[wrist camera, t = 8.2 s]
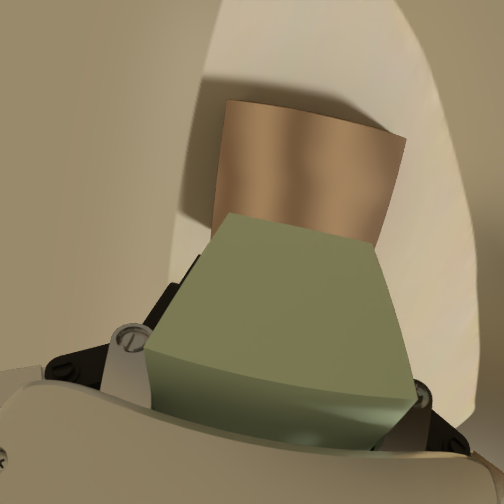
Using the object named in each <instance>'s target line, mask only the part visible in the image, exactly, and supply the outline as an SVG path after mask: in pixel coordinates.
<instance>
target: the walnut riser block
mask: <svg viewBox="0 0 504 504" xmlns="http://www.w3.org/2000/svg"><path fill="white" fill-rule="evenodd" d="M405 144H406V138H403V137H401V136H398V135H396V134H393V133H390V132H387V131H384V130H380V129H377V128H374V127H370V126H366V125H363V124H359V123H355V122H351V121H348V120H344V119H339V118H335V117H331V116H327V115H322V114H318V113H313V112H308V111H303V110H298V109H293V108H287V107H282V106H276V105H270V104H263V103H257V102H250V101H242V100H227V103H226V110H225V117H224V124H223V132H222V140H221V148H220V156H219V164H218V173H217V182H216V191H215V200H214V209H213V219H212V230H211V239H212V237H213V236H214V234H215V233H216V231H217V230H218V228H219V227H220V225H221V224H222V222H223V221H224V219H225V218H226V216H227V215H228V213H233V214H238V215H243V216H248V217H253V218H258V219H263V220H268V221H273V222H278V223H283V224H287V225H292V226H297V227H301V228H306V229H311V230H315V231H320V232H324V233H329V234H333V235H338V236H342V237H347V238H351V239H355V240H360V241H364V242H368V243H372V245H373V248H374V249H375V246H376V243H377V240H378V237H379V235H380V231H381V228H382V225H383V222H384V219H385V216H386V213H387V210H388V206H389V203H390V200H391V196H392V193H393V189H394V186H395V182H396V179H397V175H398V171H399V167H400V164H401V160H402V156H403V152H404V148H405Z"/></svg>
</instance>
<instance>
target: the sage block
mask: <svg viewBox="0 0 504 504" xmlns="http://www.w3.org/2000/svg"><path fill="white" fill-rule="evenodd" d="M143 348H144V355H145V361H146V367H147V373H148V379H149V384H150V389H152V393H153V398H154V410H155V411H158V412H161V413H164V414H167V415H170V416H173V417H176V418H180V419H183V420H186V421H190V422H193V423H197V424H201V425H204V426H208V427H212V428H216V429H220V430H224V431H228V432H233V433H237V434H242V435H247V436H251V437H256V438H262V439H267V440H273V441H279V442H285V443H291V444H298V445H306V446H314V447H323V448H334V449H346V450H361V451H369V450H371V449H372V448H373V447H374V446H375V445H376V442H377V441H378V440H379V439H380V438H381V437H382V436H383V435H384V434H385V433H388V432H389V431H390V430H391V429H392V428H393V427H394V426H395V424H396V423H397V422H398V421H399V420H400V419H401V418H402V417H403V416H404V415H405V414H406V413H407V411H408V410H409V409H410V408H411V407H412V406H413V405H414V403H415V402H416V401H417V400H418V398H417V393H416V388H415V384H414V380H413V375H412V371H411V367H410V363H409V359H408V355H407V351H406V348H405V344H404V340H403V337H402V333H401V329H400V326H399V323H398V319H397V316H396V313H395V309H394V306H393V303H392V300H391V297H390V293H389V290H388V287H387V284H386V281H385V278H384V276H383V273H382V270H381V267H380V264H379V261H378V259H377V256H376V253H375V250H374V248H373V245H372V243H368V242H364V241H360V240H355V239H351V238H347V237H342V236H338V235H333V234H329V233H324V232H320V231H315V230H311V229H306V228H301V227H297V226H292V225H287V224H283V223H278V222H273V221H268V220H263V219H258V218H253V217H248V216H243V215H238V214H233V213H228V215H227V216H226V218H225V219H224V221H223V222H222V224H221V225H220V227H219V228H218V230H217V231H216V233H215V234H214V236H213V237H212V239H211V240H210V242H209V244H208V245H207V247H206V248H205V250H204V251H203V253H202V254H201V256H200V257H199V259H198V260H197V262H196V264H195V265H194V267H193V268H192V270H191V271H190V273H189V274H188V276H187V278H186V279H185V281H184V282H183V284H182V285H181V287H180V289H179V290H178V292H177V293H176V295H175V297H174V298H173V300H172V301H171V303H170V305H169V306H168V308H167V309H166V311H165V313H164V314H163V316H162V318H161V319H160V321H159V322H158V324H157V326H156V327H155V329H154V331H153V332H152V334H151V336H150V337H149V339H148V341H147V342H146V344H145V346H144V347H143Z"/></svg>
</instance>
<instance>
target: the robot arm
mask: <svg viewBox="0 0 504 504" xmlns="http://www.w3.org/2000/svg"><path fill="white" fill-rule="evenodd" d="M200 256H201V255H200V254H199V255H198V256H197V258H196V259H195V261H194V262H193V264H192V265H191V267H190V268H189V270H188V271H187V273H186V274H185V276H184V278H183V279H182V281H181V282H180V284H177V283H173V282H172V283H170V284H169V285H168V287H167V288H166V290H165V291H164V293H163V294H162V296H161V297H160V299H159V300H158V302H157V303H156V305H155V306H154V308H153V309H152V310H151V312H150V314H149V315H148V316H147V318H146V320H145V321H144V323H143V324H137V323H130V324H126V325H123V326H121V327H119V328H117V329H116V331H115V332H114V333H113V335H112V337H111V341H110V343H109V344H105V345H101V346H97V347H94V348H90V349H86V350H82V351H78V352H74V353H70V354H66V355H62V356H59V357H56V358H54V359H53V360H51V361H50V362H49V363H48V365H47V366H46V367H44V368H42V367H41V365H37V366H30V367H24V368H18V369H11V370H5V371H0V504H501V501H502V499H503V497H504V473H503V472H502V471H501V470H500V469H499V468H497V467H496V466H495V465H493V464H492V463H490V462H489V461H487V460H486V459H485V458H484V457H482V456H481V455H480V454H478V453H477V452H475V451H472V452H470V447H469V443H468V441H467V440H466V438H465V437H464V436H463V435H462V434H460V433H459V432H458V431H457V430H456V429H455V428H454V427H452V426H451V425H450V424H449V423H448V422H446V421H445V420H444V419H443V418H442V417H440V416H439V415H438V414H437V413H436V412H435V411H433V410H432V402H433V400H432V394H431V391H430V390H429V388H428V387H427V386H426V385H425V384H424V383H422V382H421V381H419V380H416V379H413V380H414V384H415V388H416V393H417V398H418V400H417V401H416V402H415V403H414V405H413V406H412V407H411V408H410V409H409V410H408V411H407V413H406V414H405V415H404V416H403V417H402V418H401V419H400V420H399V421H398V422H397V423H396V424H395V426H394V427H393V428H392V429H391V430H390V431H389V432H388V433H385V434H384V435H383V436H382V437H381V438H380V439H379V440H378V441H377V442H376V445H375V446H374V447H373V448H372V449H371V450H369V451H361V450H346V449H334V448H323V447H314V446H306V445H298V444H291V443H285V442H279V441H273V440H267V439H262V438H256V437H251V436H247V435H242V434H237V433H233V432H228V431H224V430H220V429H216V428H212V427H208V426H204V425H201V424H197V423H193V422H190V421H186V420H183V419H180V418H176V417H173V416H170V415H167V414H164V413H161V412H158V411H155V410H154V398H153V393H152V389H150V384H149V379H148V373H147V367H146V361H145V355H144V348H143V347H144V346H145V344H146V342H147V341H148V339H149V337H150V336H151V334H152V332H153V331H154V329H155V327H156V326H157V324H158V322H159V321H160V319H161V318H162V316H163V314H164V313H165V311H166V309H167V308H168V306H169V305H170V303H171V301H172V300H173V298H174V297H175V295H176V293H177V292H178V290H179V289H180V287H181V285H182V284H183V282H184V281H185V279H186V278H187V276H188V274H189V273H190V271H191V270H192V268H193V267H194V265H195V264H196V262H197V260H198V259H199V257H200Z"/></svg>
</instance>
